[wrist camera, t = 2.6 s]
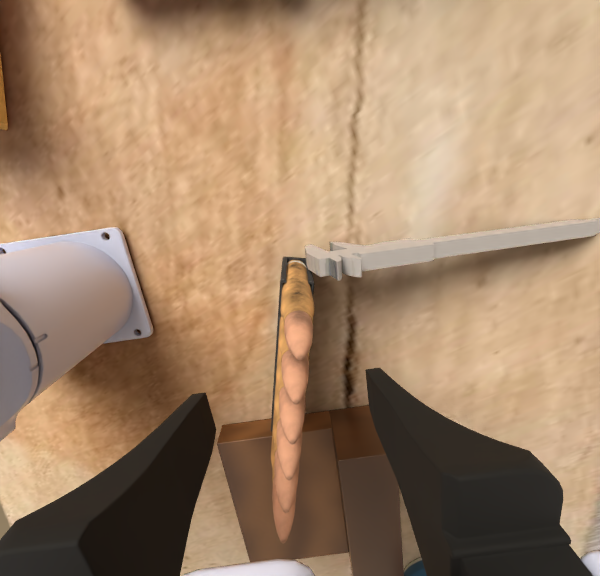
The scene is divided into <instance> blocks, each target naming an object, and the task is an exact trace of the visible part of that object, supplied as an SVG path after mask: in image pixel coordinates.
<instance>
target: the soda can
mask: <svg viewBox="0 0 600 576" xmlns="http://www.w3.org/2000/svg"><path fill="white" fill-rule="evenodd" d="M403 572H404V576H427V575H426V571H425V568H424V565H423V561H422V558H418V559H416V560H414V561H412V562H411V563H410V564H408V565H407V567H406V568H405V569H404V571H403Z"/></svg>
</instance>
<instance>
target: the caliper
mask: <svg viewBox="0 0 600 576" xmlns="http://www.w3.org/2000/svg"><path fill="white" fill-rule="evenodd" d="M596 233H600V218H592V219H585V220H581V219H574V220H566V221H558V222H550V223H543V224H535V225H527V226H520V227H512V228H504V229H497V230H489V231H481V232H474V233H466V234H458V235H450V236H442V237H435V238H427V239H419V240H414V239H401V240H395V241H385V242H380V243H376V244H372V245H357V244H350V243H343V242H330V251H326V250H324V249H322V248H319V247H317V246H314V245H312V244H310V245H305V253H306V263H307V267H308V270H310V271H312V272H313V273H315V274H316V275H318V276H320V277H323V276H332V277H334V278H335V279H337V280H338V281H339V280H341V279H342V273H343V274H345V275H349V276H355V277H362V271H369V270H375V269H382V268H389V267H395V266H402V265H409V264H416V263H422V262H429V261H434V259H436V258H443V257H450V256H457V255H464V254H471V253H478V252H485V251H492V250H499V249H506V248H513V247H520V246H527V245H534V244H541V243H548V242H555V241H562V240H569V239H576V238H583V237H590V236H595V235H596Z"/></svg>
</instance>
